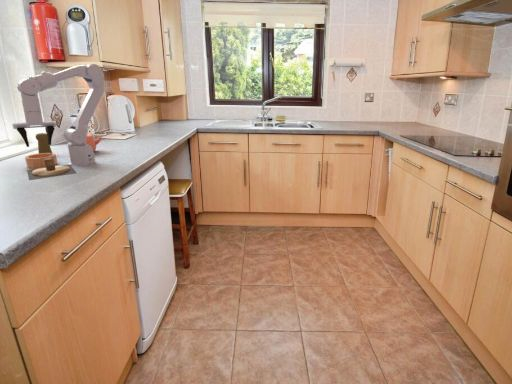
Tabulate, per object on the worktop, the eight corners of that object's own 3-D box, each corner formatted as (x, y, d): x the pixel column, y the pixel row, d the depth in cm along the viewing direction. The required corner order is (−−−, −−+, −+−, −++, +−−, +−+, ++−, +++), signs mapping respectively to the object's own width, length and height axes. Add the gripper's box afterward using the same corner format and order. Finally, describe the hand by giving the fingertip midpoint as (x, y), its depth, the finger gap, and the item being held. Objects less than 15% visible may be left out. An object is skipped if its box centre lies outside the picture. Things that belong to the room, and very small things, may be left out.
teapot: (91, 148, 178) (88, 129, 174) (105, 151, 172) (102, 131, 169) (66, 153, 166) (62, 133, 163) (79, 156, 161) (76, 135, 157)
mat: (70, 165, 144) (70, 164, 144) (76, 174, 131) (76, 173, 131) (27, 171, 135) (26, 170, 135) (29, 181, 122) (29, 180, 122)
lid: (76, 168, 137) (74, 156, 136) (51, 177, 125) (48, 164, 124) (51, 166, 140) (48, 154, 138) (24, 174, 128) (21, 162, 127)
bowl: (63, 163, 147) (61, 153, 145) (42, 169, 137) (40, 159, 135) (43, 162, 150) (40, 152, 148) (21, 168, 139) (18, 157, 138)
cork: (50, 153, 166) (45, 131, 163) (55, 155, 163) (50, 133, 159) (36, 155, 162) (31, 133, 158) (41, 157, 158) (36, 134, 155)
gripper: (51, 110, 137) (56, 142, 141) (8, 111, 127) (16, 145, 131) (55, 111, 132) (60, 144, 136) (11, 112, 122) (18, 148, 126)
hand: (39, 145), depth 133 cm, fingers open, 7 cm apart
